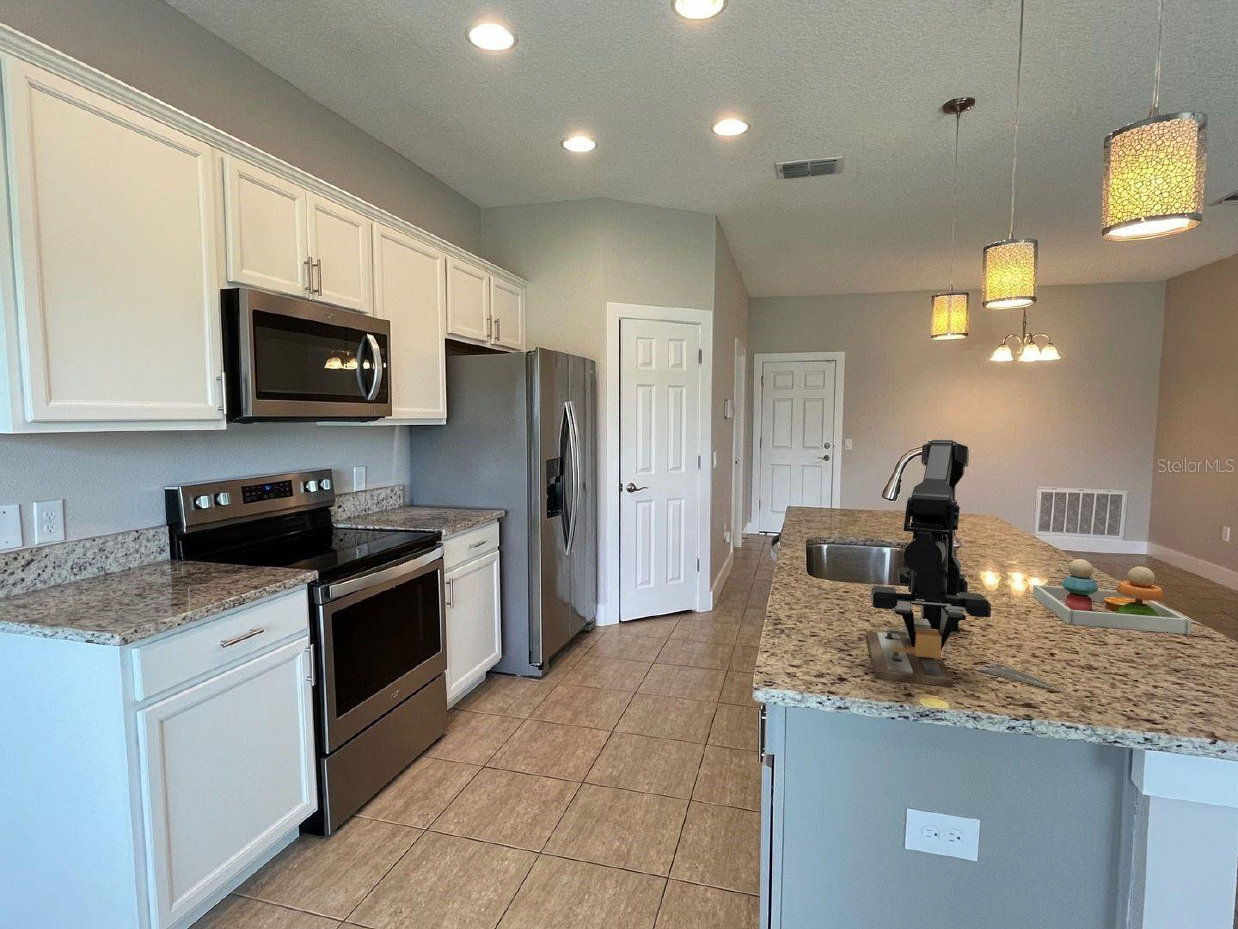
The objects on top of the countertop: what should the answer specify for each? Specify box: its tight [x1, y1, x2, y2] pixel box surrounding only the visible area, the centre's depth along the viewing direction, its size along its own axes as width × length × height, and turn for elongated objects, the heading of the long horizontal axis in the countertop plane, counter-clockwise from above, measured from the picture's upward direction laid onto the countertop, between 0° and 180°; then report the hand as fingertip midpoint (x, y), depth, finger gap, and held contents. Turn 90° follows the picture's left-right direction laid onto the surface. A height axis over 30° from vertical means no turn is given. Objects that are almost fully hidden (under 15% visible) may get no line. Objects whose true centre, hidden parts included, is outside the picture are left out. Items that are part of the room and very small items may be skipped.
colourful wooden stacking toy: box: [1061, 558, 1164, 617], centre depth 145 cm, size 18×17×12 cm
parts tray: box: [1032, 584, 1192, 635], centre depth 144 cm, size 22×23×3 cm
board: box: [865, 617, 954, 688], centre depth 116 cm, size 12×22×5 cm, turn 162°
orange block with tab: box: [893, 627, 942, 659], centre depth 112 cm, size 8×4×5 cm, turn 72°
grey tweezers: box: [976, 662, 1072, 694], centre depth 105 cm, size 18×5×2 cm, turn 37°
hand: (926, 647), depth 112 cm, fingers closed on orange block with tab, 4 cm apart
